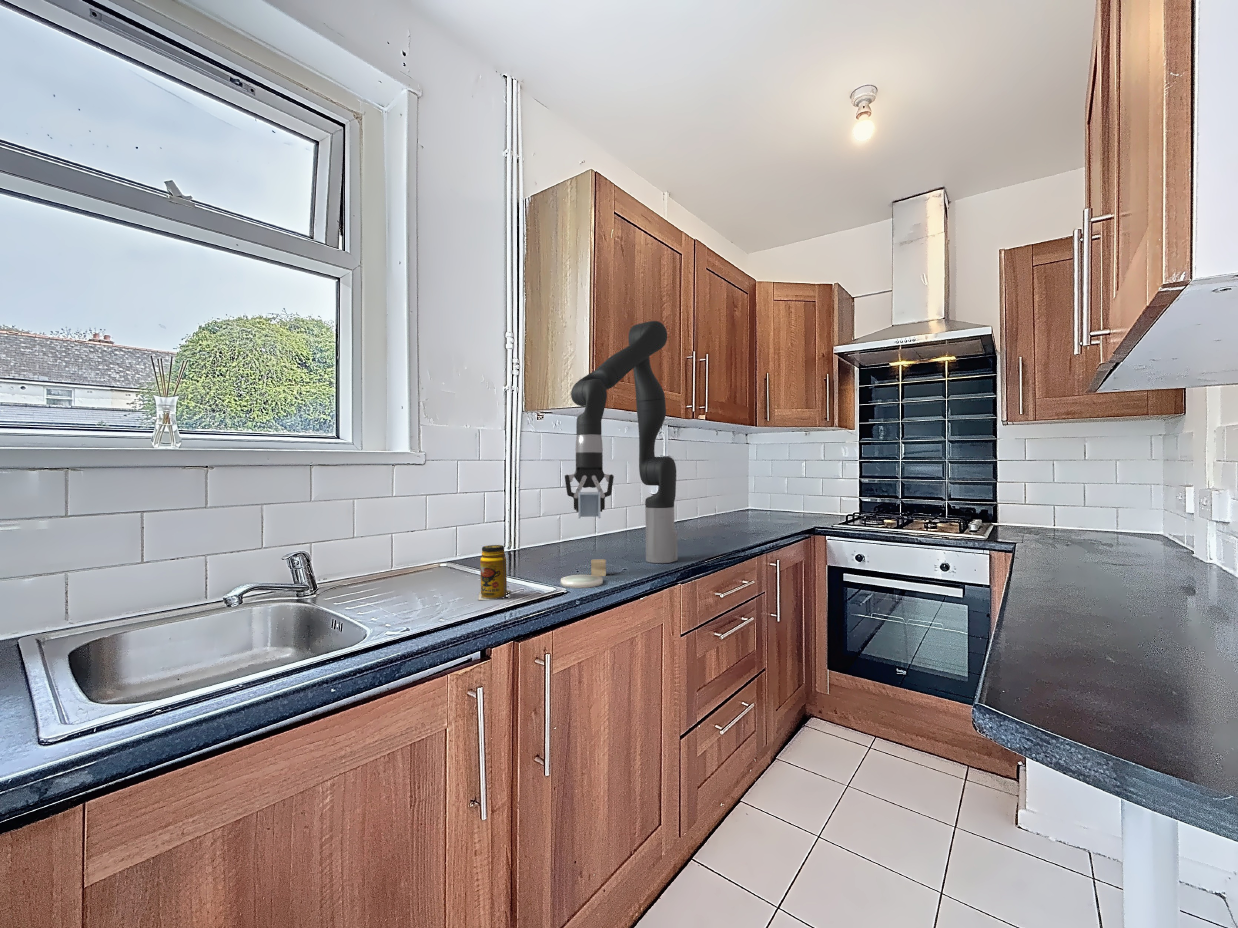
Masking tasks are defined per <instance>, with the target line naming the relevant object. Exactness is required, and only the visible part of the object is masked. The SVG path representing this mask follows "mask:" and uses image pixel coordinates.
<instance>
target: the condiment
mask: <svg viewBox="0 0 1238 928" xmlns="http://www.w3.org/2000/svg"><path fill="white" fill-rule="evenodd" d="M505 554H506V553H505V546H504V545H501V544H491V545H490V544H489V545H485V546H482V547H481V557H480V560H479V561H480V563H479V564H480V565H479V566H480V592H479V595H478V601H485V600H486V601H489V600H491V601H493V600H498V599H497V598H503V597H506V595H508V594H510V596H508V598H507V599H511V589H507V587H508V586H507V585H508V582H507V580H508V579H507V578H508V577H507V574H508V573H507V557H506V556H505ZM508 592H509V593H508ZM506 593H507V594H506ZM503 599H504V598H503Z"/></svg>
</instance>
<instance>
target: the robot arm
mask: <svg viewBox="0 0 1238 928" xmlns="http://www.w3.org/2000/svg"><path fill="white" fill-rule="evenodd" d="M627 341H628V346H626V347H625V348H622V349H621V350H619V351H617V352H615V353H613V355H611V356H610V357H608V358H607V359H606V360H605V361H604V362H602V363H601V364H600V365H599V366H598V367H597V368H596V369H595V370H594V371H592V372H590V373H588V374H586V375H585V376H583V377H581V378H580V379H579V380H578V381H577V382H575V384H574V385H573V387H572V388H571V390H570V397H571V400H572V402H573V403H574V404H575V405H577V406H579V407H584V410H583V412H582V413H581V414H579V415H577V417H576V431H575V433H576V439H575V472H574V473H572V474H565V475H564V480H565V481H564V482H565V483H564V484H565V488H566V494H567V496H568V497H571V498H573V510H575V512H576V513H578V493H580V492H582V489H583V488H584V489H587V488H593V489H595V488H596V490H597V492H600V513H602V512H603V510H605V509H606V508H605V506H606V498H607V497H610V496H612V492H613V485H614V480H615V479H614V478H615V477H614V475H613V474H607V473H604V470H603V468H604V467H603V465H604V463H603V461H604V460H603V451H604V448H603V440H602V439H603V438H602V420H603V416H604V414H605V413H604V412H605V410H606V409H605V408H606V403H607V398H608V391H607V390H610V389H612V388H614V387H615V386H616V385H617V384H618V383H619V382H620V381H621V380H622V379H623V378H624V377H625V376H626V375H628V373H630V371H633V379H634V388H635V389H634V390H635V401H636V402H635V403H636V404H635V405H636V414H637V425H638V426H637V427H638V441H639V442H638V443H639V444H638V445H639V446H638V448H639V449H638V450H639V451H638V454H639V455H638V471H639V477H640V480H641V482H642V484H644V485H645V486H658V490H657V492H656V493H654V494H653V495H650V496H648V497H647V498H645V501H644V502H645V503H644V505H645V509H644V510H645V514H644V515H645V517H644V518H645V561H646V562H648V563H651V564H653V563H654V564H667V563H674V562H676V561H678V531H677V530H676V529H675V500H676V497H677V496H676V489H677V488H676V487H677V466H676V462H675V460H674V458H673V457H670V456H655V453H656V452H655V445H656V440H657V437H658V434H659V432H660V431H661V428H662V427H663V424H664V422H665V419H666V415H667V405H666V396H665V394H666V393H665V391H664V389H663V386H662V385H661V384H660V382H659V381H658V379H657V377H656V375H655V374H654V372H653V370H652V366H651V362H650V361H651V359H650V356H652V355H654V354H655V353H656V352H658V351H660V350H662V349H663V348H664V347H665V346H666V345H667V344H666V343H667V342H668V331H667V328H666V326H665V325H664V324H663V323H662V322H661V321H657V320H651V321H650V320H649V321H645V322H641V323H636V324H634V325H632V327H631V328H630V329H629V332H628V339H627ZM604 478H605V481H606V482H607V488H606V489H607V490H606V492H604V490H603V489H602V487H601V485H600V483H602V481H603V480H604ZM573 479H575V480H576V481H577V483H578V486H577V488H576V490H575V492H573V490H572V486H571V485H572V484H571V483H572V482H573V481H574V480H573Z"/></svg>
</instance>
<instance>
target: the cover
mask: <svg viewBox="0 0 1238 928" xmlns="http://www.w3.org/2000/svg"><path fill="white" fill-rule="evenodd" d="M577 513H578V519H581V518H582V517H584V518H585V517H587V518H589V517H590V518H592V517H594V518H595V517H598V519H601V512H600V492H598V491H580V493H578V512H577Z"/></svg>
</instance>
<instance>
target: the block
mask: <svg viewBox="0 0 1238 928" xmlns="http://www.w3.org/2000/svg"><path fill="white" fill-rule="evenodd" d="M590 565H591V566H590V568H591V570H590V571H591V574H590V575H596V576H600V577H606V576H607V574H606V573H607V572H606V571H607V570H606V569H607V568H606V567H607V566H606V565H607V564H606V559H591V561H590Z"/></svg>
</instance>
